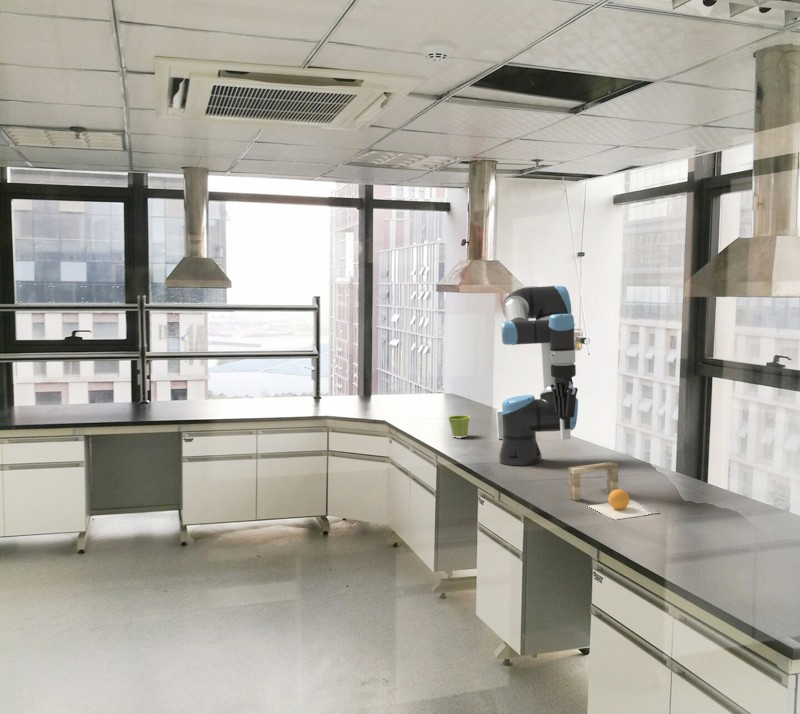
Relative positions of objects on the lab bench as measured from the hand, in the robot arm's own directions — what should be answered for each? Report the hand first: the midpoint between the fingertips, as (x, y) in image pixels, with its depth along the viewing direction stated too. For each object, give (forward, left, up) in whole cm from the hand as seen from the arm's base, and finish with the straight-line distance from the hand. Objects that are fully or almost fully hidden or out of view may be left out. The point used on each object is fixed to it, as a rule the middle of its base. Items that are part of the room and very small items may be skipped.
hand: (565, 438), depth 235 cm
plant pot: (-89, -2, -15) cm, 90 cm away
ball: (+30, -1, -12) cm, 32 cm away
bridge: (+16, 0, -14) cm, 22 cm away
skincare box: (-76, +13, -15) cm, 78 cm away
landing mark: (+31, 0, -14) cm, 34 cm away
